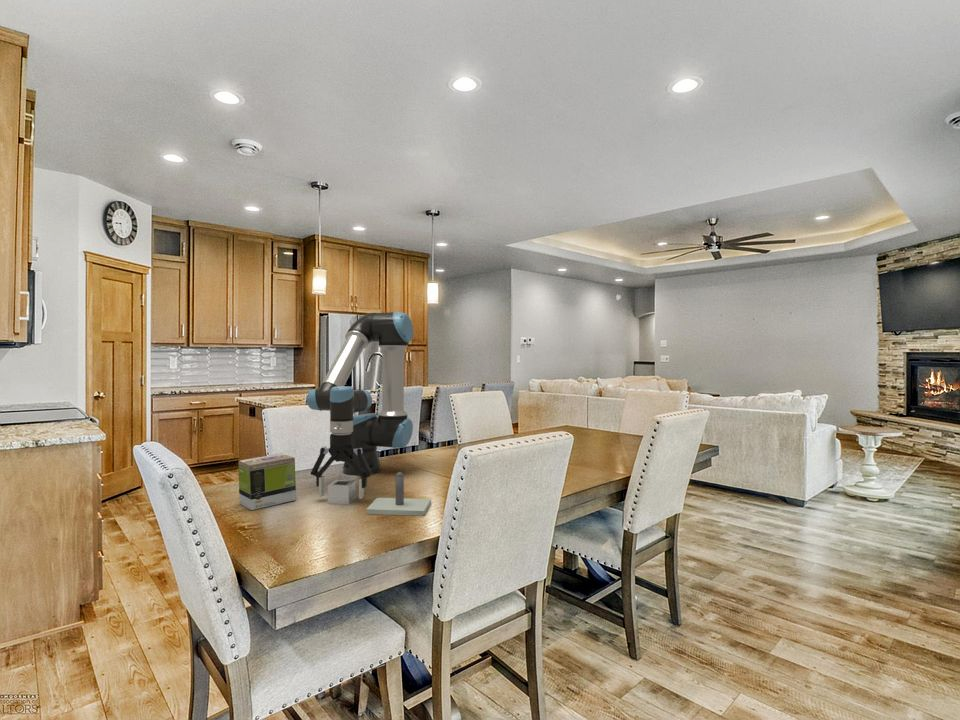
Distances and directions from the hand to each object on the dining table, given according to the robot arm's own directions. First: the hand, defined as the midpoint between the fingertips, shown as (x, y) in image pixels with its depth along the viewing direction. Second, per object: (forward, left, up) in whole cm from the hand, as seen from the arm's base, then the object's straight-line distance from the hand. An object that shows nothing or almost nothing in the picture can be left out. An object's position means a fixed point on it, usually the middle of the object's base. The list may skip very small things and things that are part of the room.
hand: (341, 496), depth 173 cm
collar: (0, 0, -1) cm, 1 cm away
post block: (+6, +21, -1) cm, 22 cm away
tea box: (+4, -24, -2) cm, 24 cm away
